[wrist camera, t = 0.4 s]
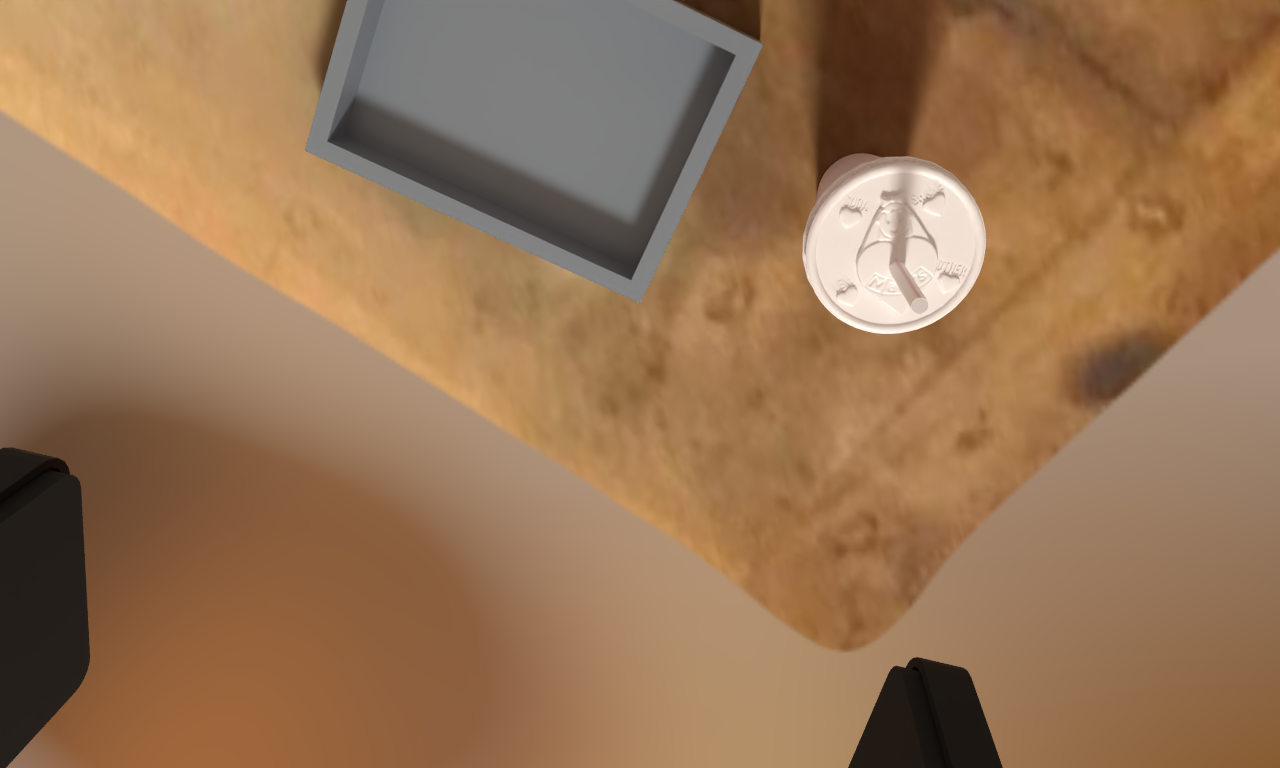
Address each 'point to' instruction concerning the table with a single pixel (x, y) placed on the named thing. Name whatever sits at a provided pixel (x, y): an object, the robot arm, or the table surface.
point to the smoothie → (892, 242)
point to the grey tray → (537, 118)
